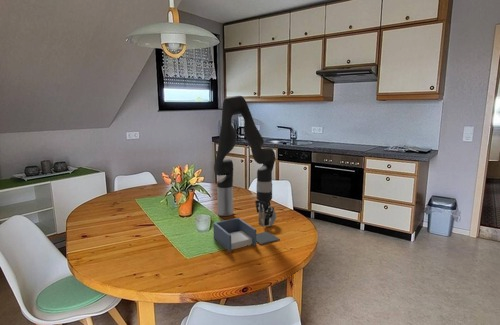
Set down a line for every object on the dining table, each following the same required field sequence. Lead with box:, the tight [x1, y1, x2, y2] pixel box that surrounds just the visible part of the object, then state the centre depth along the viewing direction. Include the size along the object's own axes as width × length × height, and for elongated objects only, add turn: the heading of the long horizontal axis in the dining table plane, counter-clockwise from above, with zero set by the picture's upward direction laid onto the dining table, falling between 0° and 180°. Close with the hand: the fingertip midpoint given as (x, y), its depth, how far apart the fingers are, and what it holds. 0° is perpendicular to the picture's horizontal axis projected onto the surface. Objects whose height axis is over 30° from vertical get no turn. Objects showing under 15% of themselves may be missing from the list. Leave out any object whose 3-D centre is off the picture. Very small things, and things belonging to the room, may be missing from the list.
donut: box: [265, 210, 277, 228], centre depth 171 cm, size 10×4×10 cm, turn 133°
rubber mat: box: [256, 231, 281, 246], centre depth 156 cm, size 11×11×1 cm
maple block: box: [258, 210, 271, 228], centre depth 154 cm, size 4×4×7 cm
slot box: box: [212, 217, 257, 253], centre depth 152 cm, size 18×14×8 cm
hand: (264, 223), depth 155 cm, fingers closed on maple block, 4 cm apart
